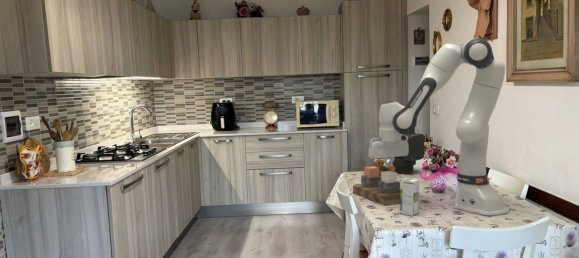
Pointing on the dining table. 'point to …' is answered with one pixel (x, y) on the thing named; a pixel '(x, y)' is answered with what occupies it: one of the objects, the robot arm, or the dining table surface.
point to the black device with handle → (410, 153)
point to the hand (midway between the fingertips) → (388, 166)
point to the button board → (378, 190)
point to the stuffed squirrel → (382, 166)
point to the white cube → (388, 177)
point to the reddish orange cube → (371, 171)
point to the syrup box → (409, 196)
